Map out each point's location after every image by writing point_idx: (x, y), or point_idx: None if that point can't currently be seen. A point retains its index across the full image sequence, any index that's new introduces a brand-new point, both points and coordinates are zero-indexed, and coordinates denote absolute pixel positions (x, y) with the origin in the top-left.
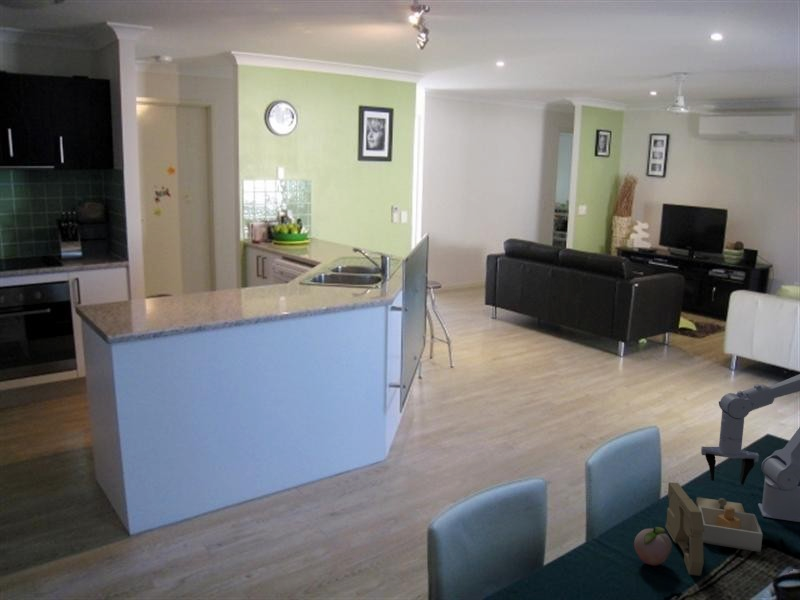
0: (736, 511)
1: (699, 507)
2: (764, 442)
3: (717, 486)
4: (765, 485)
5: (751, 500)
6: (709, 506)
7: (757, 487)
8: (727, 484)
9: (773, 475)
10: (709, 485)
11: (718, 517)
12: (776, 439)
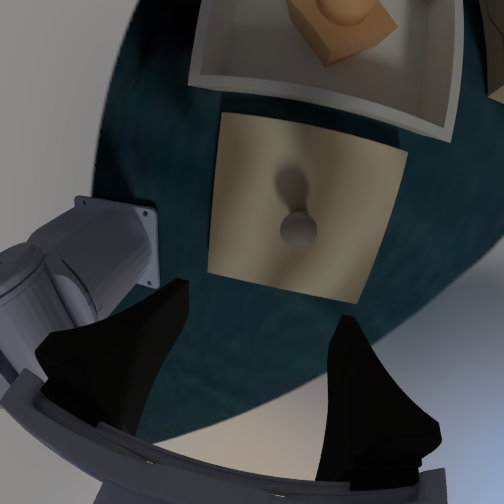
0: (242, 206)
1: (451, 126)
2: None
3: (248, 372)
4: (98, 297)
5: None
6: (341, 237)
7: None
8: (219, 377)
9: (35, 302)
10: (268, 376)
11: (391, 19)
12: None
